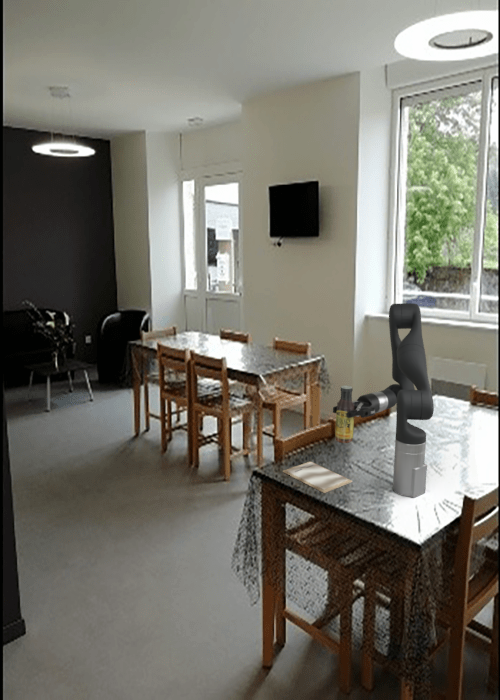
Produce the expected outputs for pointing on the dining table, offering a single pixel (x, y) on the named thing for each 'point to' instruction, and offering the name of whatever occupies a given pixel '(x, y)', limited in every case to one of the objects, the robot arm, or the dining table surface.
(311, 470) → the notepad
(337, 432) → the sauce bottle
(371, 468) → the dining table surface
